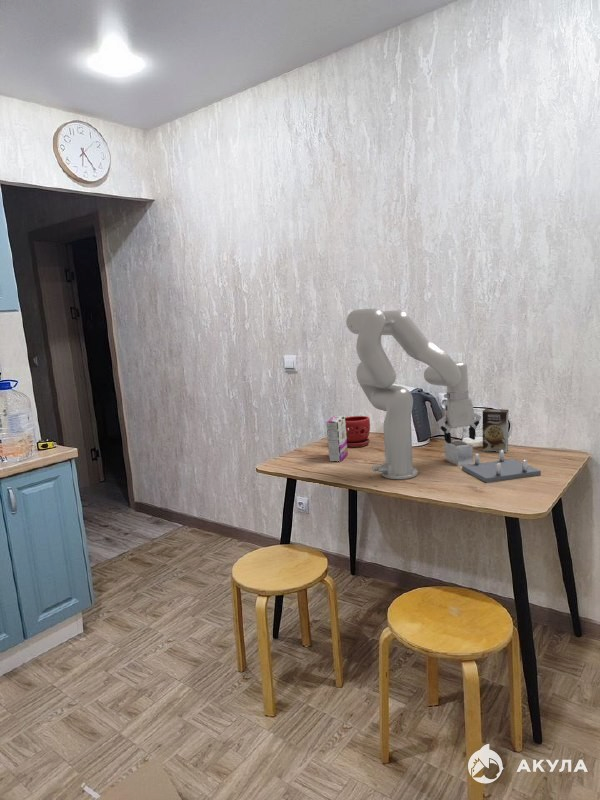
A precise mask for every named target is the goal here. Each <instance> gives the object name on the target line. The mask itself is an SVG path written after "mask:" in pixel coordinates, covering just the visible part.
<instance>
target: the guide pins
mask: <svg viewBox="0 0 600 800" xmlns="http://www.w3.org/2000/svg"><path fill="white" fill-rule="evenodd" d="M498 453H499V454H498V457H499V458H498V459H499V460H498V461H499V462H504V460H505V453H504V450H499V452H498ZM480 463H481V462H480V453H479V452H475V453H474V464H475V465H480ZM521 463H522V472H527V465H528V460H527V459H522V460H521ZM496 476H501V463H496Z"/></svg>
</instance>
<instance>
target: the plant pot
mask: <svg viewBox="0 0 600 800" xmlns="http://www.w3.org/2000/svg"><path fill="white" fill-rule="evenodd" d="M370 420H371V419H370V417H369V416H365V415H354V416H347V417H346V416H345V422H346V436H347V448H349V447H350V448H351V447H352V448H358V447H359V448H360V447H364V446H367V445H368V444H369V443H370V441H371V440H370V439H369V436H370V429H371V422H370Z"/></svg>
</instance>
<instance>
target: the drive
mask: <svg viewBox="0 0 600 800" xmlns="http://www.w3.org/2000/svg"><path fill="white" fill-rule="evenodd" d="M444 459H445V460H446V461H448V462H450V463H452V464H454V465H456V466H457V467H460V466H461V467H462V466H463V465H471V464H474V446H473V444H470V443H468V442H467V441H466V442H465V441H463V440H461V439H455V440H454V439H453V440H451V443H450V444H449V443H447V442H446V441H445V440H444Z"/></svg>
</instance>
